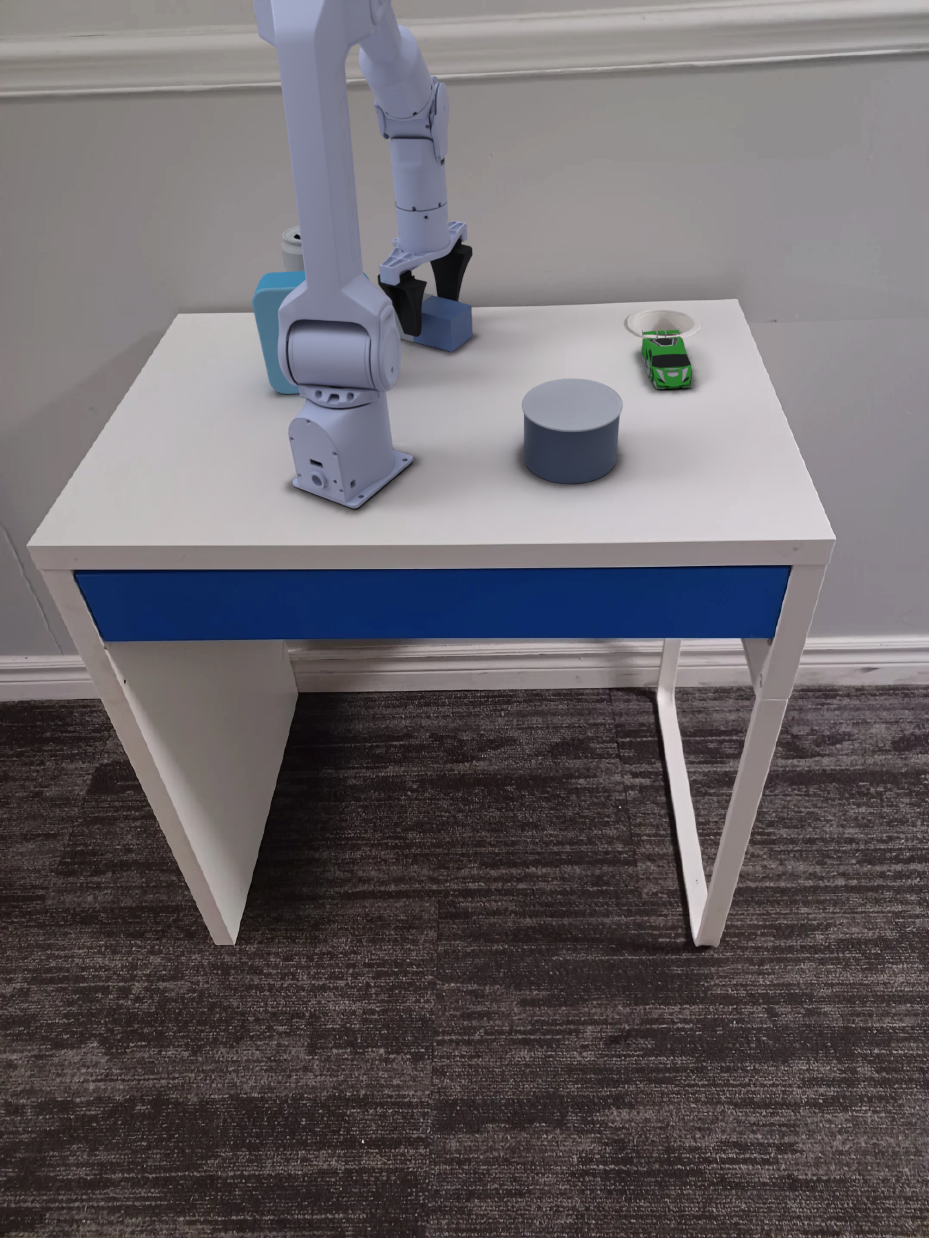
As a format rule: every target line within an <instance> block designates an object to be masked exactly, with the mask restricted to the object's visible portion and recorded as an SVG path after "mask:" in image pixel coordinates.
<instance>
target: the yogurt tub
mask: <svg viewBox="0 0 929 1238" xmlns="http://www.w3.org/2000/svg"><path fill="white" fill-rule="evenodd" d="M623 402H624V401H623V399H622V397H621V395H620V394H619V393H618V392H617V391H616V390H615V389H613V388H612V387H610V386H609V385H606V384H604V383H602V382H600V381H599V382H598V381H596V380H591V379H587V378H586V379H585V378H573V377H572V378H560V379H552V380H549V381H545V382H542V383H540V384H538V385H535V386H534V387H532V388H531V389H530V390H528V391H527V392H526V393H525V395H524V396H523V398H522V401H521V411H522V413H523V460H524V464H525V466H526V467H527V469H528V470H529V471H530V472H531V473H532V474H533V475H535V476H537V477H539V478H541V479H543V480H545V481H549V482H553V483H558V484H565V485H566V484H569V485H573V484H574V485H575V484H585V483H589V482H592V481H596V480H598V479H600V478H602V477H604V476H606V475H608V473H610V472H611V471H612V469H613V468H614V467H615V464H616V462H617V455H618V442H619V431H620V430H619V429H620V418H621V417H620V416H621V413H622V412H623V407H624V403H623Z"/></svg>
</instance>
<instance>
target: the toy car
mask: <svg viewBox="0 0 929 1238" xmlns="http://www.w3.org/2000/svg"><path fill="white" fill-rule="evenodd" d="M671 334H679V336H669V337H667V335H671ZM648 335H651V336H652V335H653V336H654V335H656V337H644V336H648ZM659 335H664V337H659ZM680 335H681V329H680V327H678V328H677V329H669V330H666V329H665V330H663V329H661V330H650V331H649V330H648V331H644V330H643V329H642V330H641V336H642V337H643V338H642V339H641V340H642V341H641V357H642V358H641V361H642V362H643V364H644V365H645V366H646V367H645V370H646V374H647V377H648V378H650V383H652V385H653V387H654V388H655V389H656V390H657V389H658V390H665V389H670V390H673V389H675V390H677V389H680V388H682V389H686V388H692V383H693V382H692V381H693V379H692V377H693V369H692V367H693V366H692V363H691V361H690V358H689V357H688V353H687V350H686V347H685V342H684V339H683V338H682V337H681V336H680Z"/></svg>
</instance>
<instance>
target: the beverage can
mask: <svg viewBox="0 0 929 1238" xmlns="http://www.w3.org/2000/svg"><path fill="white" fill-rule="evenodd" d="M281 237H282V242H281V244H280V250H281V256H282V262H283V266H284V272H293V271H305V268H304V261H303V253H302V245H301V237H300V229H299V224H298V225H295V226H291V227H289V228H287V229H286V230H284V231H283V232H282V234H281Z"/></svg>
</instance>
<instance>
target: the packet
mask: <svg viewBox="0 0 929 1238" xmlns="http://www.w3.org/2000/svg"><path fill="white" fill-rule="evenodd" d="M392 306H393V305H392ZM393 308H394V307H393ZM394 315H395V322H396V326H397V329H398V331H399V335H400V340H405V341H408V342H411V343H417V344H421V345H424V346H428V347H432V348H435V349H439V350H443V351H446V352H450V353H453V352H455V351H456V350H457V349H458V348H460V347H461V346H462V345H464V344H465V343H466V342H468V341H469V340H471V339H472V338H473V337H474V335H473V310H472V304H468V303H465V302H461V301H458V302H457V301H453V300H449V299H445V298H441V297H437V295H434V294H431V293H426V292H424V295H423V301H422V329H421V335H419V336H418V337H415V336H411V335H407V334H404V332H403V330H402V327H401V324H400V322H399V319H398V316H397V314H396V312H395V309H394Z"/></svg>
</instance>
